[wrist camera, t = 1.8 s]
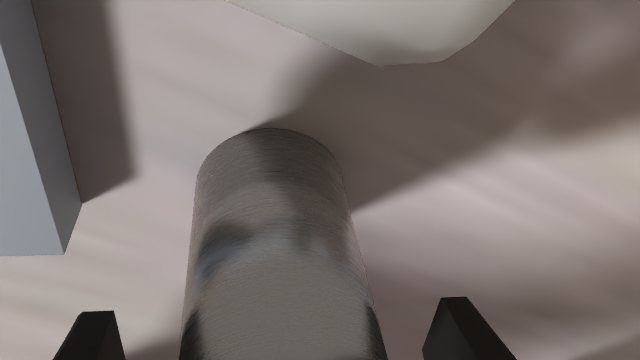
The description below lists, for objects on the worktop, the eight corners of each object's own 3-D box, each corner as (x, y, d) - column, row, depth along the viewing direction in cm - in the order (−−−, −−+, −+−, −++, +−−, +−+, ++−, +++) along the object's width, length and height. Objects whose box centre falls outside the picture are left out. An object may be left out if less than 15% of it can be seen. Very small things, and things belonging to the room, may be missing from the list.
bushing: (333, 239, 17) (377, 452, 12) (199, 243, 17) (181, 469, 11) (349, 129, 15) (415, 338, 9) (191, 127, 14) (161, 351, 9)
